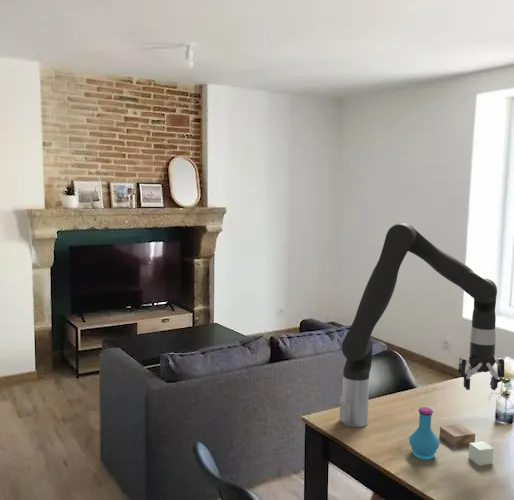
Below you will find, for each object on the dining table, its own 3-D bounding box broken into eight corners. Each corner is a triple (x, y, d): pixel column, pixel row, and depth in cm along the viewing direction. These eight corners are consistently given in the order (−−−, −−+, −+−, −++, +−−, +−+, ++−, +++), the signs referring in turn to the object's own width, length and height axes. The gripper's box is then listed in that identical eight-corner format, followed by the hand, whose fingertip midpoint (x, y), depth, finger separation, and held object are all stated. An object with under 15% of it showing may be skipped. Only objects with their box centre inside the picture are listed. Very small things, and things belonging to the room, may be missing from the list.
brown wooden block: (453, 448, 184) (454, 436, 183) (439, 437, 191) (440, 426, 191) (474, 445, 186) (475, 433, 185) (459, 435, 194) (460, 424, 193)
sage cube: (478, 465, 172) (479, 450, 171) (468, 458, 177) (469, 442, 176) (492, 463, 173) (493, 448, 173) (482, 456, 178) (483, 441, 177)
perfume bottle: (434, 464, 172) (436, 417, 171) (404, 456, 177) (406, 410, 175) (441, 452, 180) (444, 407, 178) (413, 445, 185) (415, 401, 183)
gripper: (465, 344, 177) (463, 393, 179) (509, 344, 177) (507, 393, 179) (456, 337, 184) (454, 385, 186) (499, 337, 185) (496, 385, 186)
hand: (480, 389), depth 183 cm, fingers open, 8 cm apart
